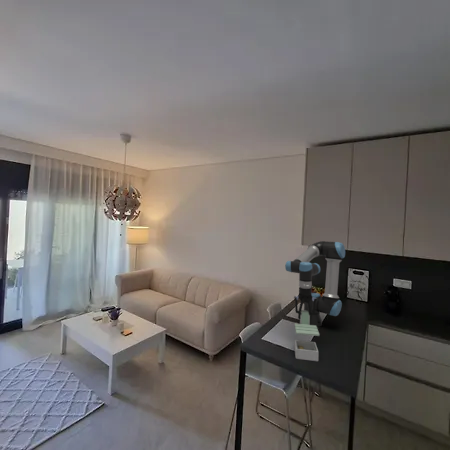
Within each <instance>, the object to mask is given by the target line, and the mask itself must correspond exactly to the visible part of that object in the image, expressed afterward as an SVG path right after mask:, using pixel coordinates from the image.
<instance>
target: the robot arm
mask: <svg viewBox="0 0 450 450" xmlns="http://www.w3.org/2000/svg"><path fill="white" fill-rule="evenodd" d="M317 257H325V260H326V273H325V285H324V286H325V287H324V293H323V294H322V296H321V294H320V293H318V292H312V286H313V285H312V281H313V279H312V278H313V277H314V276H317V275H319V274H320V273H321V266H320V264H318V263H316V262H314V263H312V262H311V261H312V260H313V259H314V258H317ZM345 257H346V248H345V245H344V244H343V242H339V241H325V240H320V241H316V242H314V243H312V244H310V245H308V247H307V249H306V250H304V251H303V252H302V253H301V254H300V255H298V256H297V257H296V258H295V259H294V260H288V261H286V262H285V266H284V267H285V271H286V272H289V273H294V274H296V273H297V274H298V275H299V279H298V280H299V281H298V286H299V287H298V295H296V296H295V295H294V297H293V299H294V308H295V313H296V314H298V315H297V316H298V317H297V318H298V320H299V324H302V314H301V310H305V311H308V312H309V325H315V326H316V327H317V328H320V327H322V326H323V321H322V318H321V314H325V315H329V316H333V317H337V316H339V314H340V312H341V311H342V305H343V303H342V301H341V300H340V297H339V295H338V289H339V288H338V287H339V273H340V263H341V262H342V261H343V259H344V258H345ZM298 300H300V303H299V308H298ZM320 313H321V314H320Z"/></svg>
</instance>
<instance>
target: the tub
mask: <svg viewBox="0 0 450 450" xmlns="http://www.w3.org/2000/svg"><path fill="white" fill-rule="evenodd" d="M298 346H303V347H304V349H298ZM294 355H295V359H297V360H305V361H313V362H319V349H318V347H317V343H316V342H315V341H306V340H300V339H299V340H298V339H294Z"/></svg>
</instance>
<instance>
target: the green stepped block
mask: <svg viewBox="0 0 450 450" xmlns="http://www.w3.org/2000/svg"><path fill="white" fill-rule="evenodd" d="M301 314H302V324H300V323H294V329H295V334H296V335H305V336H314V337H316V336H317V337H320V332H319V330H318V329H319V328H318V327H316V326H315V325H309V312H308V311H305V310H304V309H302V310H301Z"/></svg>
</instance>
